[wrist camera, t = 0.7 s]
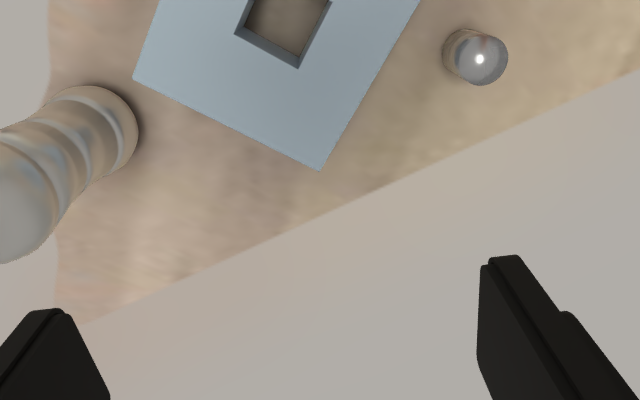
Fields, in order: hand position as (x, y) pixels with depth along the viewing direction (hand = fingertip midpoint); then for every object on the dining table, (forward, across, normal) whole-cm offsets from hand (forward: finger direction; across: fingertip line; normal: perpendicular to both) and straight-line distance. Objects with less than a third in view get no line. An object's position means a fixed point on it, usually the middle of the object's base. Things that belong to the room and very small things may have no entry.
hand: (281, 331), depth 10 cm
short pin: (+27, -12, 0) cm, 30 cm away
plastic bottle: (+27, +16, +1) cm, 32 cm away
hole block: (+27, 0, -5) cm, 28 cm away
